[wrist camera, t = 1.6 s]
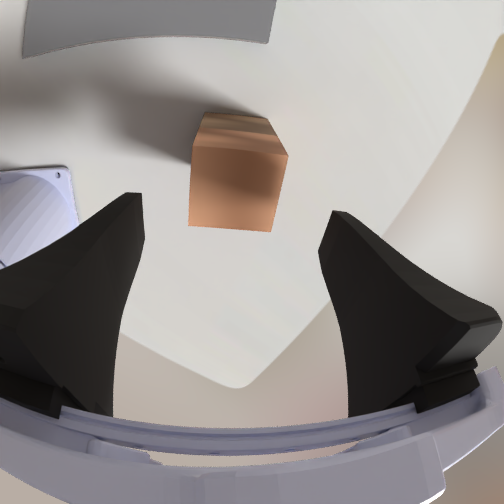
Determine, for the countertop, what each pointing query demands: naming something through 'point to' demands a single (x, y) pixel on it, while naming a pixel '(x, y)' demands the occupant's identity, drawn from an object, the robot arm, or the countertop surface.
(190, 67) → the countertop surface
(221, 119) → the copper rectangular block
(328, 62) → the countertop surface
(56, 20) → the collar board
